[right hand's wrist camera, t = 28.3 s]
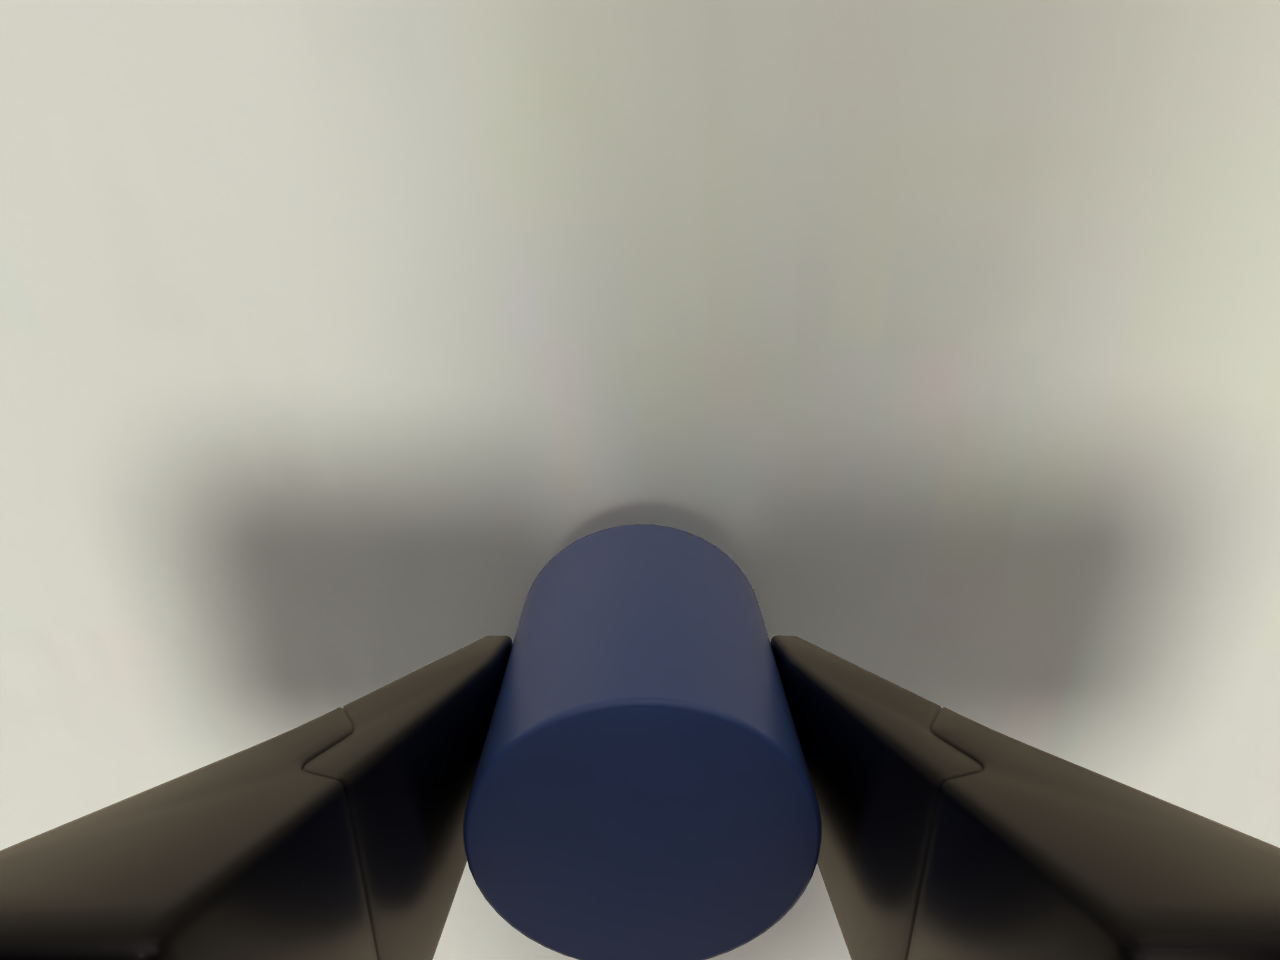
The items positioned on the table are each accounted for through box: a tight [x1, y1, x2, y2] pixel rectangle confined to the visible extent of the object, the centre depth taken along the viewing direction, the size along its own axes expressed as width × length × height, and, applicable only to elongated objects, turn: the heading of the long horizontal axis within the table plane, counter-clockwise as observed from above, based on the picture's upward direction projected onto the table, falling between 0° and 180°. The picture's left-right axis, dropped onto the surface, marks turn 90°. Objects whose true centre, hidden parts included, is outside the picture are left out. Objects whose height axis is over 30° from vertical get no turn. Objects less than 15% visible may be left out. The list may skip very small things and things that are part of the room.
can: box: [463, 525, 822, 960], centre depth 10 cm, size 4×4×5 cm
